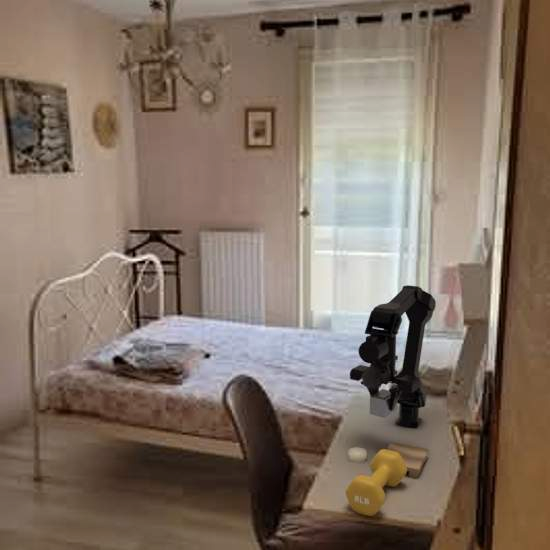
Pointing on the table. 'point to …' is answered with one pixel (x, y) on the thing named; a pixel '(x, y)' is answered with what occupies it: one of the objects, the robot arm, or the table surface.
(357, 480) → the dumbbell
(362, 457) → the cream rounded piece
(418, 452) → the tan flat board
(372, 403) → the housing
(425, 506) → the table surface
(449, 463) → the table surface
